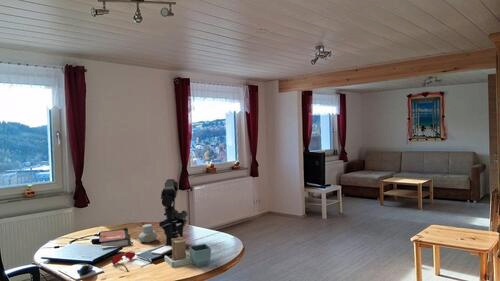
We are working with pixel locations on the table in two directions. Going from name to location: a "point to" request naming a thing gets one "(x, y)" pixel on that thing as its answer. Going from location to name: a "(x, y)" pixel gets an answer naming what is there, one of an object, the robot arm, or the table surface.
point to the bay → (179, 261)
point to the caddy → (178, 249)
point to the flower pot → (200, 254)
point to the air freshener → (147, 234)
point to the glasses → (127, 255)
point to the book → (115, 237)
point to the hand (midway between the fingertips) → (177, 237)
